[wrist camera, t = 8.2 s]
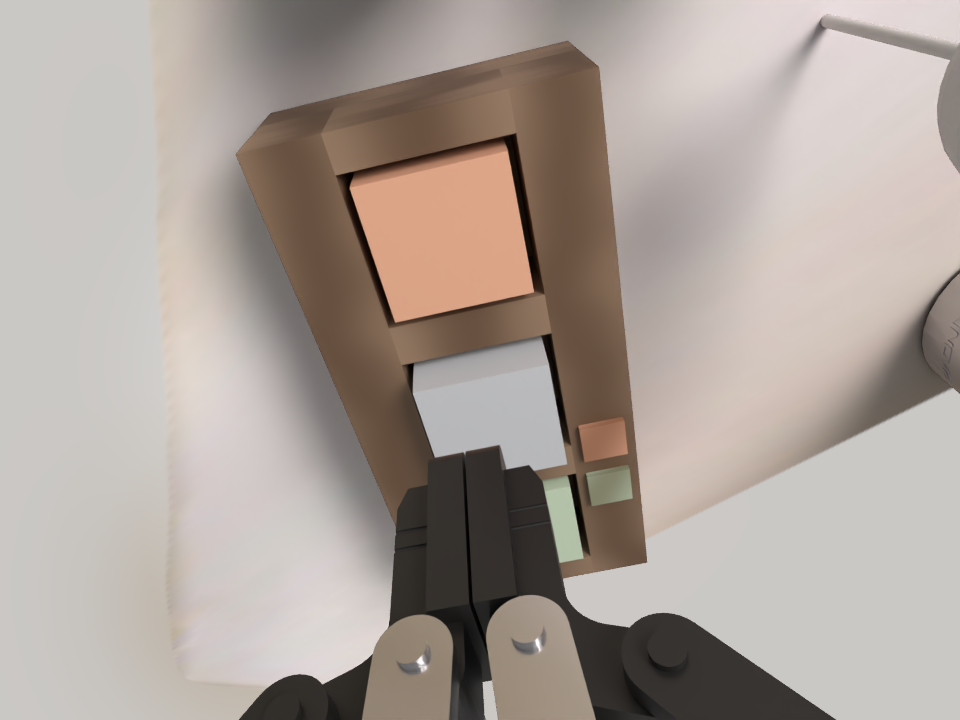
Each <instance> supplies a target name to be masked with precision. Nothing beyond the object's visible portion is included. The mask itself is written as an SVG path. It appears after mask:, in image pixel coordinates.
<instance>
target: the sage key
mask: <svg viewBox="0 0 960 720" xmlns="http://www.w3.org/2000/svg"><path fill="white" fill-rule="evenodd" d="M542 481H543V485H544V490H545V494H546V499H547V503H548V508H549V513H550V517H551V522H552V526H553V531H554V536H555V541H556V547H557V552H558V557H559V562H560V563H562V562H567V561H572V560H578V559H583V552H582V547H581V541H580V536H579V531H578V525H577V520H576V515H575V509H574V504H573V499H572V493H571V488H570V483H569V479H568V475H566V476H561V477H556V478H551V479H546V480H542Z"/></svg>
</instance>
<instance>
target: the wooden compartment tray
mask: <svg viewBox="0 0 960 720" xmlns="http://www.w3.org/2000/svg"><path fill="white" fill-rule="evenodd" d="M501 136H503V138H504V141H505V144H506V147H507V150H508V155H509V160H510V165H511V171H512V176H513V182H514V187H515V192H516V198H517V203H518V208H519V214H520V219H521V225H522V230H523V235H524V241H525V246H526V251H527V257H528V262H529V268H530V273H531V278H532V284H533V289H534V292H533V293H529V294H524V295H520V296H515V297H510V298H506V299H501V300H497V301H492V302H488V303H483V304H478V305H474V306H469V307H465V308H460V309H455V310H451V311H446V312H442V313H437V314H433V315H428V316H423V317H419V318H414V319H410V320H405V321H401V322H396V323H395V320H394V317H393V315H392V312H391V309H390V306H389V303H388V300H387V297H386V294H385V291H384V288H383V285H382V282H381V279H380V276H379V273H378V270H377V267H376V264H375V261H374V258H373V256H372V253H371V250H370V247H369V244H368V241H367V238H366V235H365V232H364V229H363V226H362V223H361V220H360V217H359V214H358V211H357V208H356V205H355V202H354V199H353V197H352V194H351V191H350V185H351V182H352V178H353V175H354V172H355V171H357V170H361V169H366V168H370V167H374V166H378V165H383V164H387V163H391V162H395V161H400V160H404V159H408V158H412V157H417V156H421V155H425V154H429V153H433V152H438V151H442V150H446V149H450V148H455V147H459V146H463V145H467V144H472V143H476V142H480V141H484V140H489V139H493V138H497V137H501ZM236 156H237V159H238V161H239V163H240V166H241V168H242V170H243V173H244V175H245V177H246V180H247V182H248V184H249V187H250V189H251V191H252V194H253V196H254V198H255V201H256V203H257V205H258V207H259V210H260V212H261V214H262V217H263V219H264V221H265V224H266V226H267V228H268V231H269V233H270V235H271V238H272V240H273V242H274V245H275V247H276V249H277V252H278V254H279V256H280V259H281V261H282V263H283V265H284V268H285V270H286V272H287V275H288V277H289V279H290V282H291V284H292V286H293V289H294V291H295V293H296V296H297V298H298V300H299V303H300V305H301V307H302V310H303V312H304V314H305V317H306V319H307V321H308V323H309V326H310V328H311V330H312V333H313V335H314V337H315V340H316V342H317V344H318V347H319V349H320V351H321V354H322V356H323V358H324V361H325V363H326V365H327V368H328V370H329V372H330V375H331V377H332V379H333V381H334V384H335V386H336V388H337V391H338V393H339V395H340V398H341V400H342V402H343V405H344V407H345V409H346V412H347V414H348V416H349V419H350V421H351V423H352V426H353V428H354V430H355V432H356V435H357V437H358V439H359V442H360V444H361V446H362V449H363V451H364V453H365V456H366V458H367V460H368V463H369V465H370V467H371V470H372V472H373V474H374V477H375V479H376V481H377V484H378V486H379V488H380V490H381V493H382V495H383V497H384V500H385V502H386V504H387V507H388V509H389V511H390V514H391V516H392V518H393V521H394V523H395V525H396V521H397V509H398V507H399V505H400V503H401V502H402V500H403V498H404V496H405V494H406V492H407V490H408V489H409V488H414V487H419V486H424V485H428V461H429V459H431V458H435V456H434V453H433V450H432V447H431V444H430V442H429V439H428V436H427V433H426V430H425V427H424V424H423V421H422V418H421V416H420V413H419V410H418V407H417V404H416V401H415V398H414V395H413V374H414V362H419V361H424V360H429V359H433V358H438V357H443V356H447V355H452V354H457V353H461V352H466V351H471V350H475V349H480V348H485V347H489V346H494V345H499V344H503V343H508V342H513V341H518V340H522V339H527V338H532V337H536V336H541V337H542V341H543V344H544V348H545V352H546V356H547V359H548V363H549V368H550V373H551V379H552V384H553V389H554V395H555V400H556V406H557V411H558V416H559V422H560V427H561V433H562V438H563V444H564V449H565V454H566V460H567V464H566V465H561V466H556V467H551V468H546V469H541V470H536V471H534V472H535V473H536V474H537V475H538V476H539V478H540V479H541V480H546V479H551V478H556V477H561V476H566V475H568V479H569V483H570V488H571V493H572V499H573V504H574V509H575V515H576V520H577V525H578V531H579V536H580V541H581V547H582V552H583V559H578V560H572V561H567V562H562V563H560V567H561V573H562V578H567V577H572V576H578V575H583V574H588V573H593V572H598V571H604V570H610V569H615V568H620V567H626V566H631V565H635V564H641V563H646V562H647V556H646V545H645V535H644V525H643V514H642V504H641V494H640V483H639V473H638V463H637V453H636V442H635V432H634V422H633V411H632V401H631V391H630V381H629V370H628V360H627V350H626V339H625V329H624V319H623V309H622V298H621V288H620V278H619V267H618V257H617V247H616V237H615V226H614V216H613V206H612V195H611V185H610V175H609V165H608V154H607V144H606V134H605V123H604V113H603V103H602V93H601V82H600V72H599V67H598V66H597V65H596V64H595V63H594V62H592V61H591V60H590V59H589V58H588V57H586V56H585V55H584V54H583V53H582V52H581V51H579V50H578V49H577V48H576V47H575V46H573V45H572V44H571V43H570V42H569V41H565V42H561V43H557V44H553V45H549V46H545V47H541V48H537V49H533V50H529V51H524V52H520V53H516V54H512V55H508V56H504V57H500V58H496V59H492V60H488V61H483V62H479V63H475V64H471V65H467V66H463V67H459V68H455V69H451V70H447V71H442V72H438V73H434V74H430V75H426V76H422V77H418V78H414V79H410V80H406V81H401V82H397V83H393V84H389V85H385V86H381V87H377V88H373V89H369V90H365V91H360V92H356V93H352V94H348V95H344V96H340V97H336V98H332V99H328V100H323V101H319V102H315V103H311V104H307V105H303V106H299V107H295V108H291V109H287V110H282V111H278V112H274V113H270V115H269V116H268V117H267V118H266V119H265V120H264V122H263V123H262V124H261V125H260V126H259V128H258V129H257V130H256V131H255V132H254V133H253V135H252V136H251V137H250V138H249V139H248V140H247V142H246V143H245V144H244V145H243V146H242V147H241V149H240V150H239V151H238V152H237V153H236Z"/></svg>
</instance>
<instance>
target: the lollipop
mask: <svg viewBox="0 0 960 720" xmlns="http://www.w3.org/2000/svg"><path fill="white" fill-rule="evenodd" d="M821 26H822V27H825V28H829V29H832V30H836V31H840V32H844V33H848V34H852V35H856V36H859V37H863V38H867V39H871V40H875V41H879V42H883V43H887V44H890V45H894V46H898V47H902V48H906V49H910V50H914V51H917V52H921V53H925V54H929V55H933V56H937V57H941V58H944V59H948V60H950V62H949V64H948V66H947V69H946V72H945V75H944V78H943V80H942V83H941V86H940V92H939V98H938V104H937V117H938V127H939V133H940V137H941V140H942V144H943V147H944V151H945V152H946V154H947V155H948V157H949V159H950V160H951V162H952V163H953V165H954V166H955V168H956V169H957V170H958V172H959V173H960V43H957V42H952V41H948V40H943V39H939V38H934V37H930V36H925V35H921V34H916V33H912V32H907V31H903V30H898V29H894V28H889V27H885V26H880V25H876V24H871V23H867V22H862V21H858V20H853V19H849V18H844V17H840V16H835V15H831V14H827V15H825V16H824V17H823V18H822V19H821Z"/></svg>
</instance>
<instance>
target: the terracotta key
mask: <svg viewBox="0 0 960 720" xmlns="http://www.w3.org/2000/svg"><path fill="white" fill-rule="evenodd" d="M350 191H351V194H352V197H353V199H354V202H355V205H356V208H357V211H358V214H359V217H360V220H361V223H362V226H363V229H364V232H365V235H366V238H367V241H368V244H369V247H370V250H371V253H372V256H373V258H374V261H375V264H376V267H377V270H378V273H379V276H380V279H381V282H382V285H383V288H384V291H385V294H386V297H387V300H388V303H389V306H390V309H391V312H392V315H393V317H394V320H395V323H396V322H401V321H405V320H410V319H414V318H419V317H423V316H428V315H433V314H437V313H442V312H446V311H451V310H455V309H460V308H465V307H469V306H474V305H478V304H483V303H488V302H492V301H497V300H501V299H506V298H510V297H515V296H520V295H524V294H529V293H533V292H534V289H533V284H532V278H531V273H530V268H529V262H528V257H527V251H526V246H525V241H524V235H523V230H522V225H521V219H520V214H519V208H518V203H517V198H516V192H515V187H514V182H513V176H512V171H511V165H510V160H509V155H508V150H507V147H506V144H505V141H504V138H503V136H501V137H497V138H493V139H489V140H484V141H480V142H476V143H472V144H467V145H463V146H459V147H455V148H450V149H446V150H442V151H438V152H433V153H429V154H425V155H421V156H417V157H412V158H408V159H404V160H400V161H395V162H391V163H387V164H383V165H378V166H374V167H370V168H366V169H361V170H357V171H355V172H354V175H353V178H352V182H351V185H350Z"/></svg>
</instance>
